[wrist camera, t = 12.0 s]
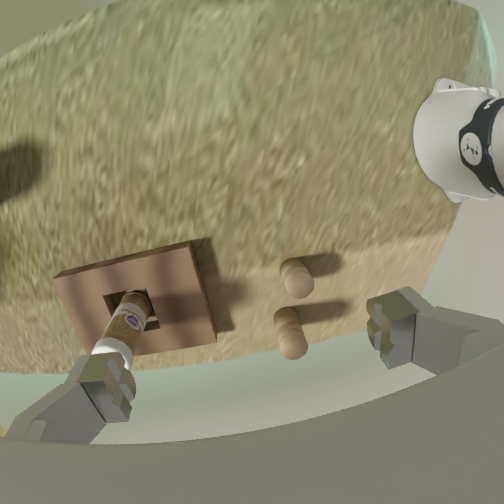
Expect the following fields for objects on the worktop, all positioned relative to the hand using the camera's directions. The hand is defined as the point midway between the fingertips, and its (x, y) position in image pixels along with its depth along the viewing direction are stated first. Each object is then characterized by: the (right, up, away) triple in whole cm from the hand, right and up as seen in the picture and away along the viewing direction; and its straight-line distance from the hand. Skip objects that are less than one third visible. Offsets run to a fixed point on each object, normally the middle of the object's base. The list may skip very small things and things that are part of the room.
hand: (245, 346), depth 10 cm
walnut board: (-16, -4, +33) cm, 37 cm away
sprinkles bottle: (-16, -4, +33) cm, 37 cm away
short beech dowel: (+6, +1, +33) cm, 34 cm away
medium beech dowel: (+5, -6, +36) cm, 37 cm away
